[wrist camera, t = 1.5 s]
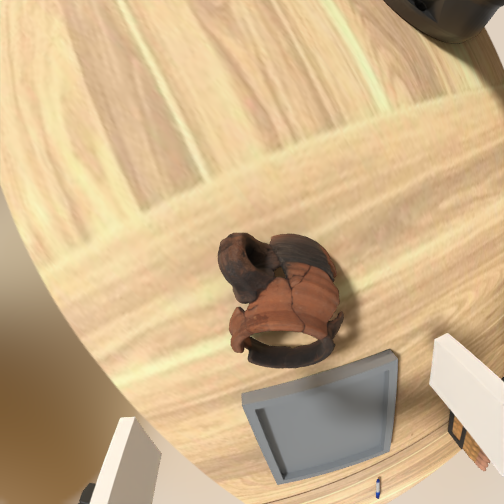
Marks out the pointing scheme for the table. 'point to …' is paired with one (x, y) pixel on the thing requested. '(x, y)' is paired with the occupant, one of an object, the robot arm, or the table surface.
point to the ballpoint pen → (377, 488)
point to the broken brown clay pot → (281, 296)
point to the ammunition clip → (467, 442)
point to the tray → (325, 418)
